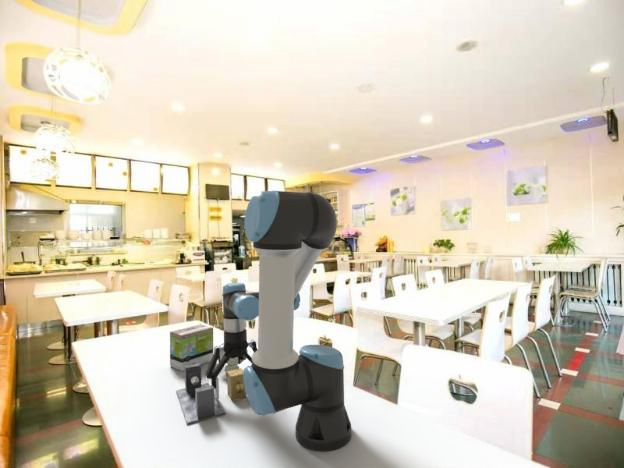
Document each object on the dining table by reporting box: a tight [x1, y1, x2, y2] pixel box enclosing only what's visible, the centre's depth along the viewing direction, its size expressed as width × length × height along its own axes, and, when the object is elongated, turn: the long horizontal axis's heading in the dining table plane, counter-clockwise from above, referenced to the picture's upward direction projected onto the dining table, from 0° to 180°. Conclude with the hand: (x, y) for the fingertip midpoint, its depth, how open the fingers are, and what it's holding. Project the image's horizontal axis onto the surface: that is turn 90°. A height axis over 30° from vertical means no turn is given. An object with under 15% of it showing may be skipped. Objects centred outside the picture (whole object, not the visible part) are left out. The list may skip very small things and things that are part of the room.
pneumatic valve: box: [217, 342, 249, 375], centre depth 136 cm, size 6×12×12 cm, turn 78°
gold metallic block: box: [226, 367, 247, 402], centre depth 116 cm, size 8×5×8 cm, turn 28°
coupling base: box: [175, 363, 226, 426], centre depth 112 cm, size 24×11×9 cm, turn 28°
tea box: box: [169, 323, 214, 372], centre depth 147 cm, size 15×10×15 cm, turn 143°
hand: (236, 392), depth 116 cm, fingers open, 12 cm apart
